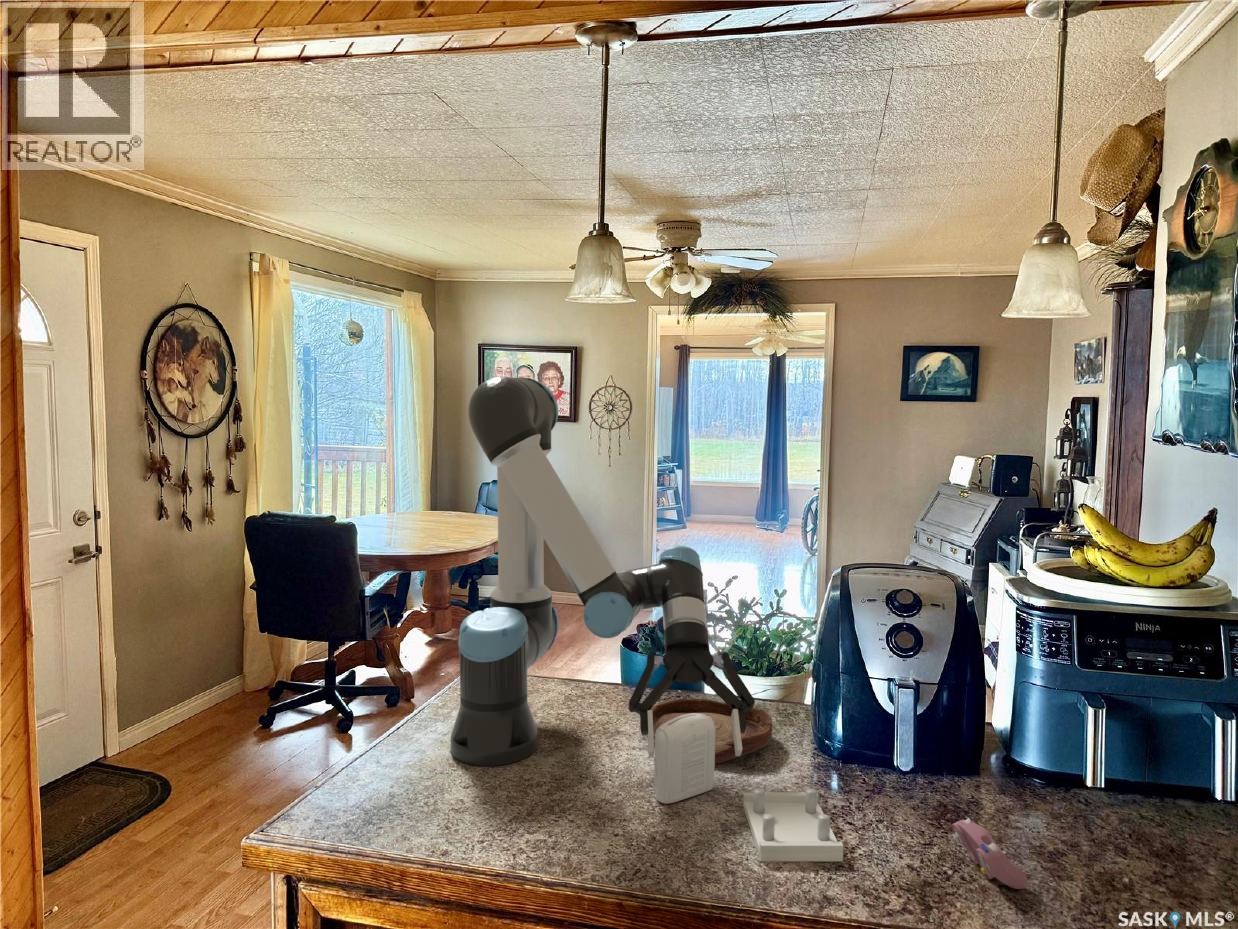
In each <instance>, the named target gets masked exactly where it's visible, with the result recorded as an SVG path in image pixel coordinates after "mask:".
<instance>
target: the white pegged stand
mask: <svg viewBox="0 0 1238 929" xmlns="http://www.w3.org/2000/svg"><path fill="white" fill-rule="evenodd" d="M742 799H743V801H742V802H743V803H742V804H743V806H742V807H743V810H744V813H745V816H746V817H745V818H746V819H747V823H748V826H749V828H750V831H751V835H752V838H753V842H754V845H755V848H756V851H757V855H758V858H759V861H760V862H844V844H843V842H842V841H841V840H839V841H838V839H837V838H836V836H835V833H834V832H833V830H832V828H831V816H830V815H828V814H825V813H824V811H823V810H822V808H821V805H820V803H819V794H818V791H817V790H816V789H814V788H807V789H805V792H802V791H800V792H799V791H798V792H795V791H794V792H792V791H791V792H788V791H787V792H785V791H784V792H783V791H782V792H776V791H775V792H771V791H770V792H769V791H765V789H762V788H756V789H754V790H753V791H752V792H750V791H749V792H743V796H742Z"/></svg>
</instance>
